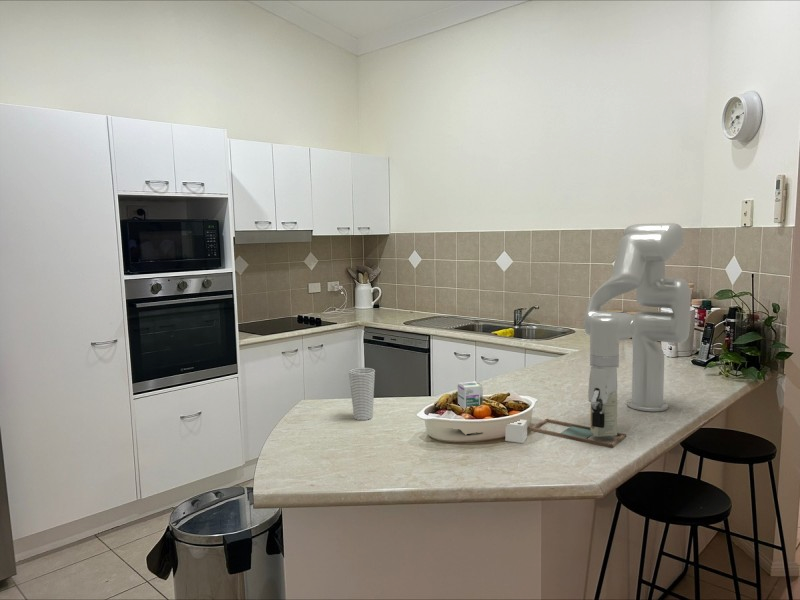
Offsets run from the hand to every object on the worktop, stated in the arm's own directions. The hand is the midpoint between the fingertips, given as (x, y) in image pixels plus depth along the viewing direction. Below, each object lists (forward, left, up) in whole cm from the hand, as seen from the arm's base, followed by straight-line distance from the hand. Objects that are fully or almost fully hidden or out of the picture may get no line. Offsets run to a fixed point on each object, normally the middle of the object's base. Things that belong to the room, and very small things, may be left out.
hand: (603, 422), depth 162 cm
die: (+14, -20, -5) cm, 25 cm away
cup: (+25, -69, -5) cm, 73 cm away
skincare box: (0, 0, -3) cm, 3 cm away
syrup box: (+16, -34, -5) cm, 38 cm away
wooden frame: (0, -8, -5) cm, 9 cm away
